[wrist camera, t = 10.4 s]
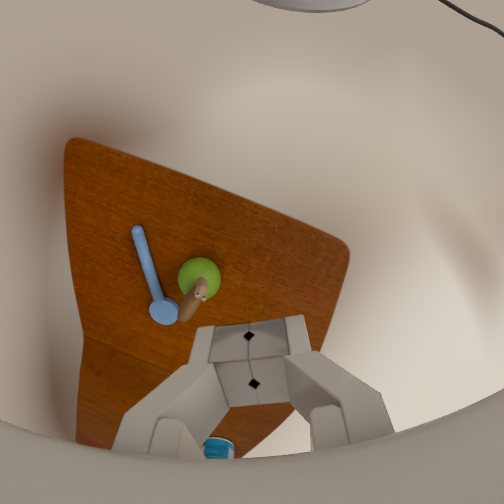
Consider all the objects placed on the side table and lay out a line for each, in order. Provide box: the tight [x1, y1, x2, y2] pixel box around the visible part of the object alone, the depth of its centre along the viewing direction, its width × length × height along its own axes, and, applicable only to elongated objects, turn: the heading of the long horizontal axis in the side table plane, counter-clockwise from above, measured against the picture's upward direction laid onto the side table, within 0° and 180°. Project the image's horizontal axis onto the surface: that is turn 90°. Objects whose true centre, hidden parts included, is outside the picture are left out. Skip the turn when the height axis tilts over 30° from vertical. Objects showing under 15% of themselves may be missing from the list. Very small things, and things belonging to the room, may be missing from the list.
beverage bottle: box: [200, 437, 234, 459], centre depth 48 cm, size 8×8×20 cm
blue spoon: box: [132, 225, 179, 325], centre depth 40 cm, size 16×4×2 cm, turn 9°
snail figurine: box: [177, 257, 221, 322], centre depth 34 cm, size 5×6×12 cm
